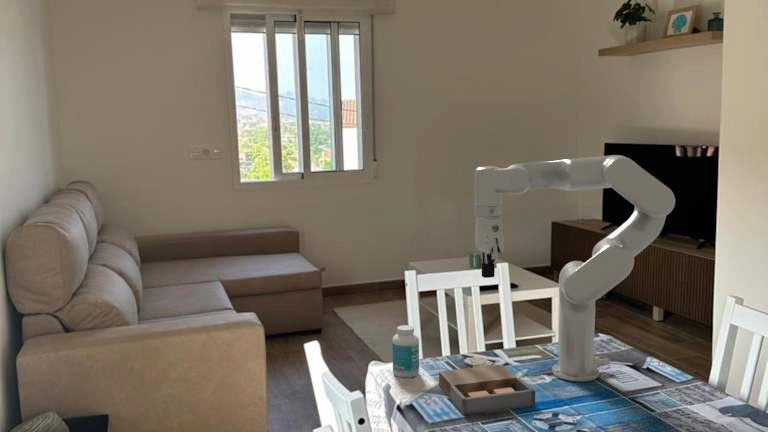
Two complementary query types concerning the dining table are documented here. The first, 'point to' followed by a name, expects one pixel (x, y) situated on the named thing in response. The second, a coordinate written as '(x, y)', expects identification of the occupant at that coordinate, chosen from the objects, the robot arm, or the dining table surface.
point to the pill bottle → (405, 352)
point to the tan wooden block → (477, 379)
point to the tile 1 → (477, 393)
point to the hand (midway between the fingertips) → (488, 276)
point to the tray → (494, 400)
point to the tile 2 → (502, 390)
